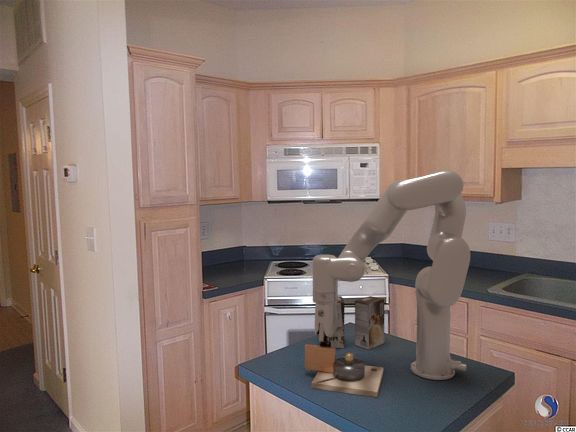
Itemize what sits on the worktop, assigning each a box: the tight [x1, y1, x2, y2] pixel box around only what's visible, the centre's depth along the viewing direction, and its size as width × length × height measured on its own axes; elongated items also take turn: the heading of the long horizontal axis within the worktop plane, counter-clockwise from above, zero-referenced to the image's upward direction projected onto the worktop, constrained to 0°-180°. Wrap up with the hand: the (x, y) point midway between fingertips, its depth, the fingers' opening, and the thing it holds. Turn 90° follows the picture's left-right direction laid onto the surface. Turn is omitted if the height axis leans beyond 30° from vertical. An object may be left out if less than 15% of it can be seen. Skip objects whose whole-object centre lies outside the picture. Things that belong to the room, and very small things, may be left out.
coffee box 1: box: [331, 295, 346, 349], centre depth 155 cm, size 9×6×16 cm
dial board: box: [311, 364, 384, 398], centre depth 127 cm, size 18×16×2 cm
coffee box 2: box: [354, 295, 385, 350], centre depth 154 cm, size 9×6×16 cm
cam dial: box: [304, 343, 366, 381], centre depth 128 cm, size 18×9×7 cm, turn 72°
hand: (325, 355), depth 133 cm, fingers closed
